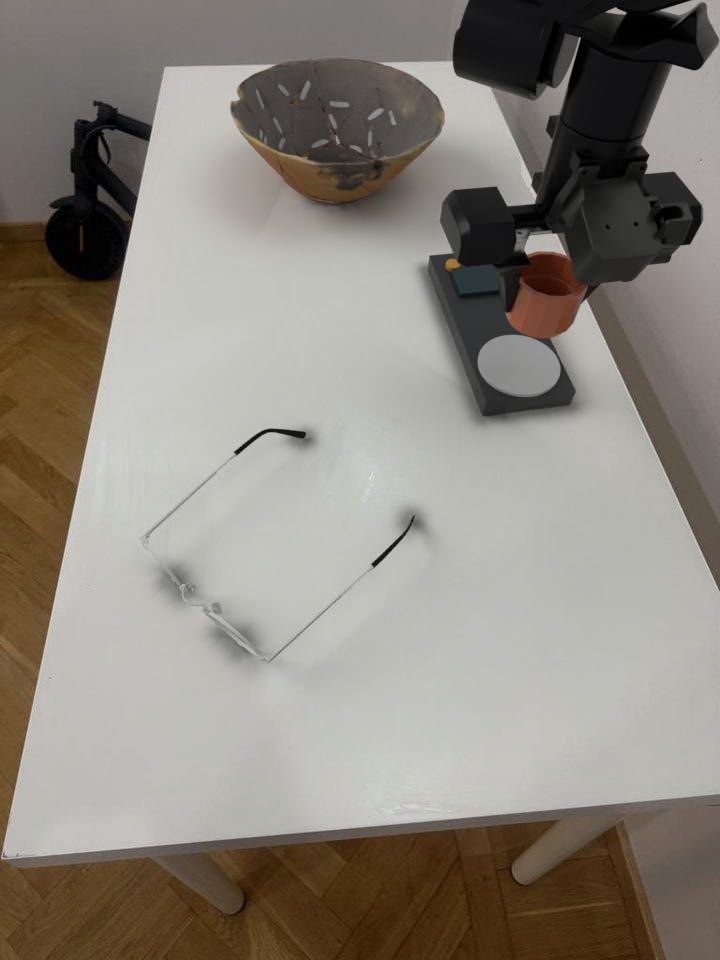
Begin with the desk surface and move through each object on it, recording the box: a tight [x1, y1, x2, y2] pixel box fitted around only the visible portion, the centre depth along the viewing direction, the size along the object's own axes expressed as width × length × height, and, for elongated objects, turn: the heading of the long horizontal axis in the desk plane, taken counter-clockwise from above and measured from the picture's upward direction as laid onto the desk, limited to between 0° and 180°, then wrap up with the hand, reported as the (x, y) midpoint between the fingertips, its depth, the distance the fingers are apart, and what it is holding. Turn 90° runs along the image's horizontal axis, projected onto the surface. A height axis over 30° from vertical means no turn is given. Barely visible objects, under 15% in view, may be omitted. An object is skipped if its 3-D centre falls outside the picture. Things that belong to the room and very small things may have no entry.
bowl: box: [229, 57, 446, 205], centre depth 78 cm, size 25×25×10 cm
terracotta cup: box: [504, 250, 588, 339], centre depth 54 cm, size 6×6×4 cm
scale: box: [427, 252, 577, 417], centre depth 67 cm, size 22×9×3 cm, turn 10°
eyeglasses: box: [139, 427, 416, 664], centre depth 51 cm, size 16×19×5 cm
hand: (540, 305), depth 55 cm, fingers closed on terracotta cup, 6 cm apart
